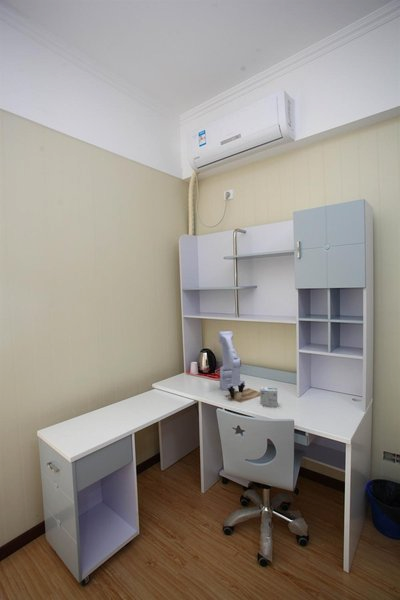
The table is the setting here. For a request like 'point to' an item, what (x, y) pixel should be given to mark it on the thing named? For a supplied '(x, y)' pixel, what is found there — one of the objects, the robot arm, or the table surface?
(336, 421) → the table surface
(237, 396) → the block
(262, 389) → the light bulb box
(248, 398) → the board
